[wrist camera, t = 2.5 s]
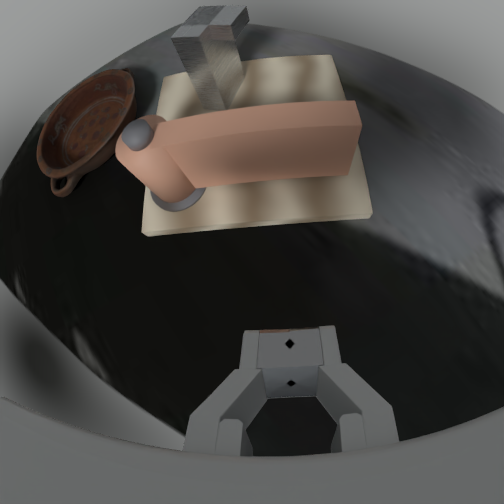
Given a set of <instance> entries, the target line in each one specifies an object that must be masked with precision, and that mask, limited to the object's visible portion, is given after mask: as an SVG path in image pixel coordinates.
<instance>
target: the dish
mask: <svg viewBox="0 0 504 504" xmlns="http://www.w3.org/2000/svg"><path fill="white" fill-rule="evenodd" d="M136 110H137V103H136V98H135V84H134V74H133V73H132V71H131V70H130V69H128V68H126V69H122V70H118V69H117V70H116V69H112V70H106V71H103V72H101V73H98V74H96V75H94V76H92V77H90V78H88V79H87V80H85V81H84V82H82V83H81V84H79V85H78V86H76V87H75V88H74V89H73V90H72V91H71V92H69V93H68V94H67V95H66V96H65V97H64V98H63V99H62V100H61V102H60V103H59V104H58V105H57V106H56V108H55V109H54V110H53V111H52V113H51V114H50V116H49V117H48V119H47V121H46V123H45V125H44V127H43V130H42V132H41V135H40V137H39V141H38V146H37V161H38V164H39V167H40V169H41V171H42V172H43V173H44V174H45V175H47V176H48V177H51V189H52V192H53V193H54V194H55V195H56V196H59V197H65V196H67V195H69V194H70V193H71V192H72V191H73V190H74V188H75V187H76V185H77V183H78V182H79V180H80V179H81V178H82V176H84V175H85V174H86V173H88V172H90V171H92V170H94V169H96V168H98V167H100V166H101V165H102V164H104V163H105V162H106V161H107V160H108V159H109V158H110V157H111V156H112V155H113V154H114V153H115V148H116V143H117V141H118V138H119V136H120V135H121V133H122V132H123V130H124V128H125V127H126V126H127V125H128V124H129V123H130V122H132V121H134V120H135V117H136ZM65 176H66V177H67V183H66V185H65V187H63V188H62V189H60V183H61V181H62V179H63V178H64V177H65Z"/></svg>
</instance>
